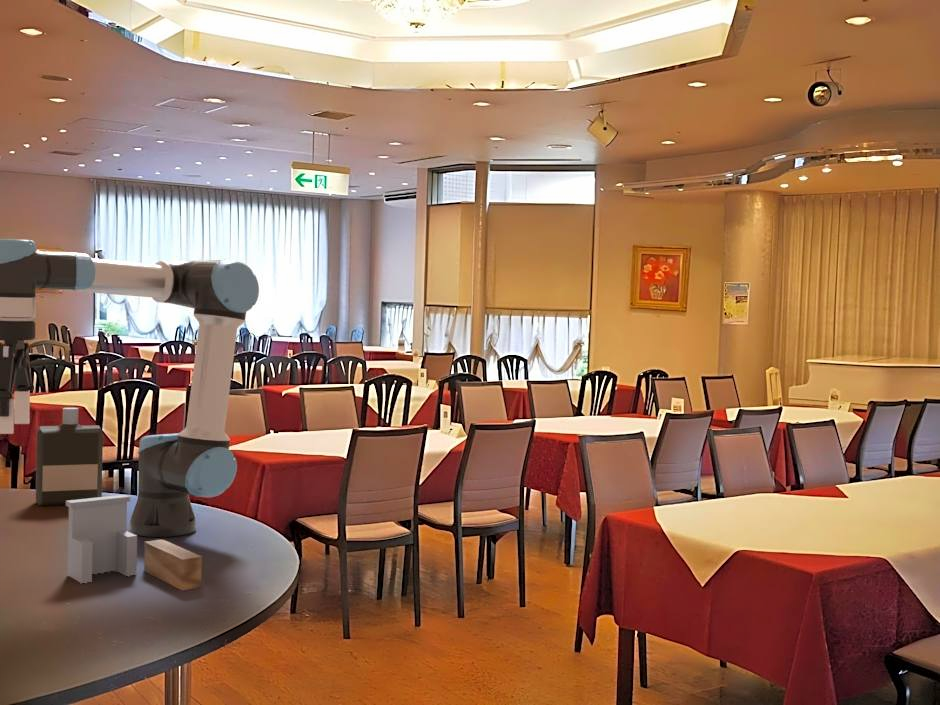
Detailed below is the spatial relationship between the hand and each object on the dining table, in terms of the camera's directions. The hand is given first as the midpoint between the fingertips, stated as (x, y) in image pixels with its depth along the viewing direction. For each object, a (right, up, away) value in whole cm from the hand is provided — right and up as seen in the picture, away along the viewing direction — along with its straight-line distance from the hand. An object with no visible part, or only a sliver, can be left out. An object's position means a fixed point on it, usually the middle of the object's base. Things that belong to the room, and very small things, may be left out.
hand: (14, 428), depth 197 cm
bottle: (-17, -25, +70) cm, 77 cm away
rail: (+30, -30, +4) cm, 42 cm away
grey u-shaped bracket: (+16, -30, +4) cm, 34 cm away
